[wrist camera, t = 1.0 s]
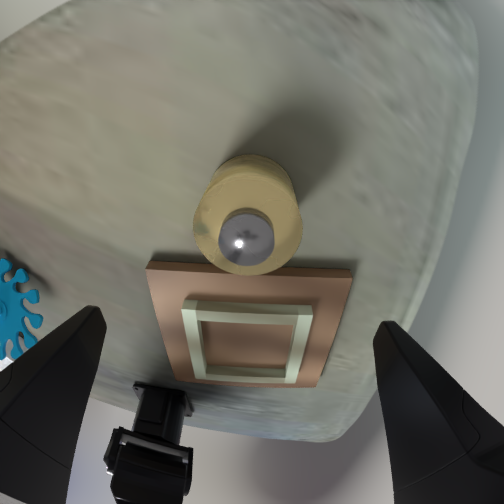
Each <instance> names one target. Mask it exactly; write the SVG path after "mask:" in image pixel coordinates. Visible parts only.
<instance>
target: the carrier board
mask: <svg viewBox="0 0 504 504" xmlns="http://www.w3.org/2000/svg"><path fill="white" fill-rule="evenodd" d="M145 271H146V275H147V279H148V284H149V288H150V292H151V296H152V300H153V304H154V308H155V312H156V316H157V320H158V323H159V327H160V330H161V334H162V337H163V341H164V344H165V348H166V351H167V354H168V358H169V361H170V364H171V367H172V370H173V373H174V376H175V379H176V380H177V381H185V382H194V383H203V384H214V385H227V386H244V387H274V388H303V387H316V385H317V382H318V380H319V377H320V375H321V372H322V370H323V367H324V364H325V362H326V359H327V356H328V354H329V351H330V348H331V345H332V342H333V340H334V337H335V334H336V331H337V328H338V325H339V322H340V319H341V316H342V313H343V310H344V306H345V303H346V300H347V297H348V293H349V290H350V287H351V283H352V280H353V277H352V275H351V272H350V269H320V268H293V267H279V268H278V269H275V270H273V271H271V272H268V273H265V274H260V275H249V276H246V275H238V274H233V273H230V272H227V271H225V270H222V269H220V268H219V267H217V266H215V265H214V264H202V263H182V262H163V261H149V263H148V265H147V267H146V269H145Z"/></svg>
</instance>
